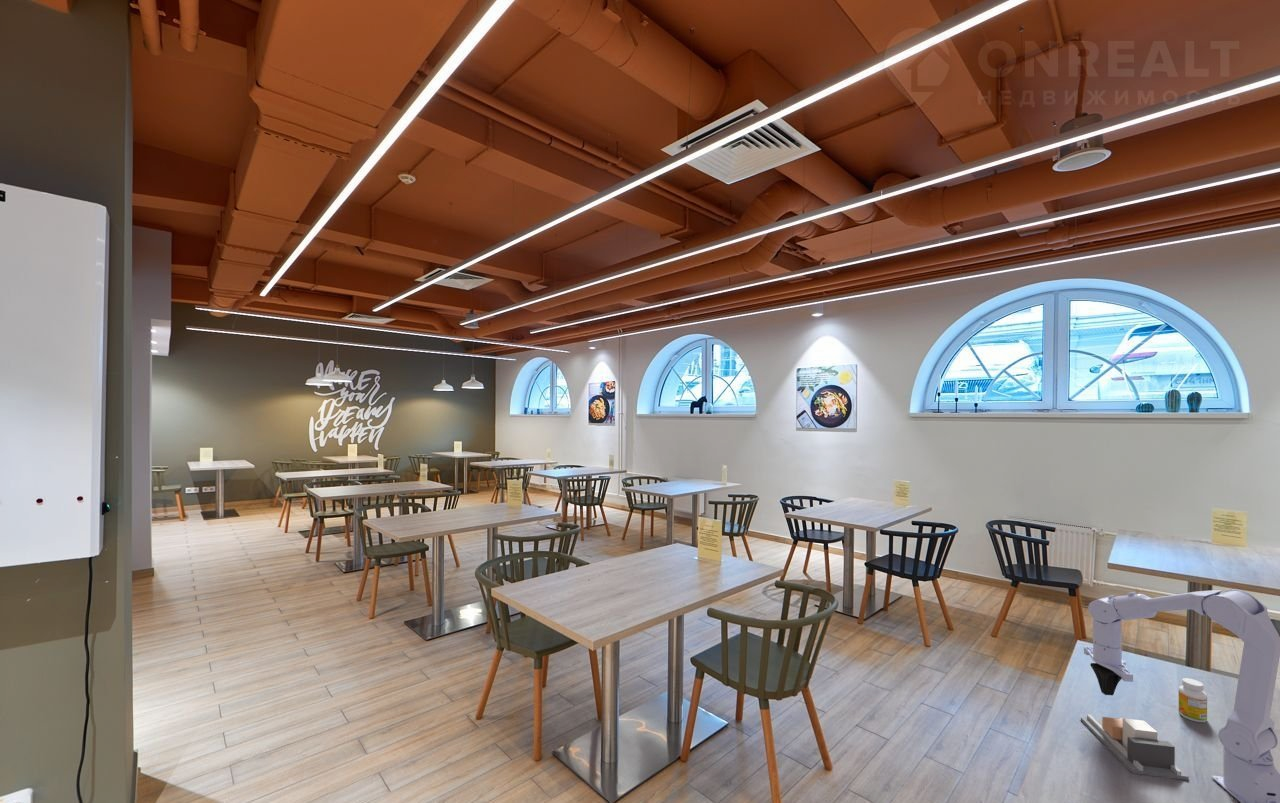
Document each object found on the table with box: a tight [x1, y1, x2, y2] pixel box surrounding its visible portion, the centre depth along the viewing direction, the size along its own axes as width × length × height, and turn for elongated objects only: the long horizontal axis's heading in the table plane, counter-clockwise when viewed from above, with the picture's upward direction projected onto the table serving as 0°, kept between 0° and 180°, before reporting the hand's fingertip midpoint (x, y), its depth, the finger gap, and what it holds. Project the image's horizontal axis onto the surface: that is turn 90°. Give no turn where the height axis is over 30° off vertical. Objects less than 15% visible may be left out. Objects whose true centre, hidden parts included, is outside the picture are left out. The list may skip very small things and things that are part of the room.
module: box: [1122, 717, 1158, 750], centre depth 127 cm, size 4×4×7 cm
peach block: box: [1101, 716, 1123, 739], centre depth 132 cm, size 4×8×3 cm, turn 77°
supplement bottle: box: [1178, 677, 1208, 723], centre depth 142 cm, size 5×5×10 cm
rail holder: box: [1080, 714, 1190, 781], centre depth 131 cm, size 20×11×6 cm, turn 167°
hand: (1107, 693), depth 139 cm, fingers closed
